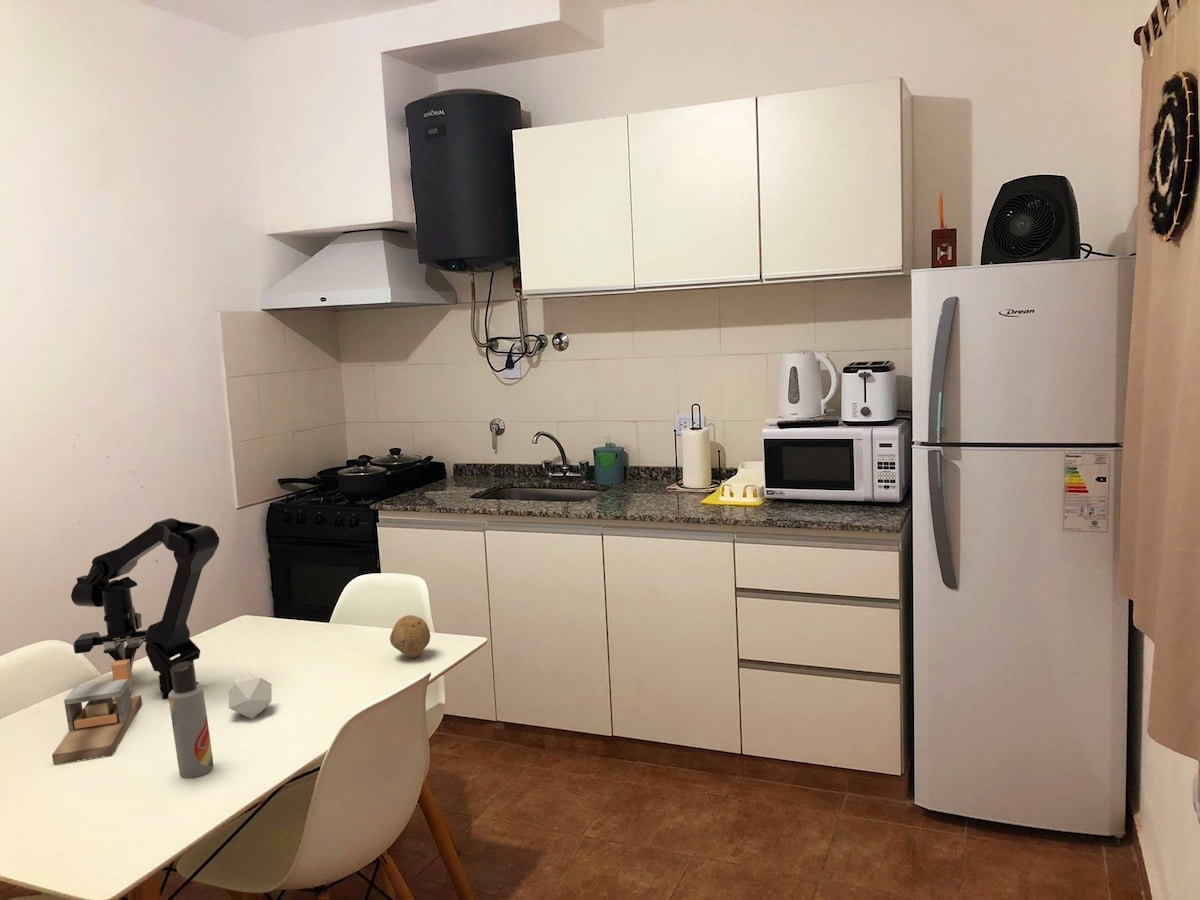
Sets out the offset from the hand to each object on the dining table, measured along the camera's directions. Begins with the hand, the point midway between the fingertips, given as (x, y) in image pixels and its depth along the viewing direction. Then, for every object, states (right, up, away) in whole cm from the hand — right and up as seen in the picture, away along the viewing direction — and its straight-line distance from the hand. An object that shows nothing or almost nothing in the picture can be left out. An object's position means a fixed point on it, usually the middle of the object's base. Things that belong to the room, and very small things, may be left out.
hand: (128, 674), depth 211 cm
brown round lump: (+62, +2, +7) cm, 63 cm away
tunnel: (+6, -6, -23) cm, 25 cm away
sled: (+4, -2, -14) cm, 15 cm away
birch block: (+6, -4, -22) cm, 23 cm away
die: (+35, -4, -19) cm, 40 cm away
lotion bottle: (+33, -7, -42) cm, 55 cm away
